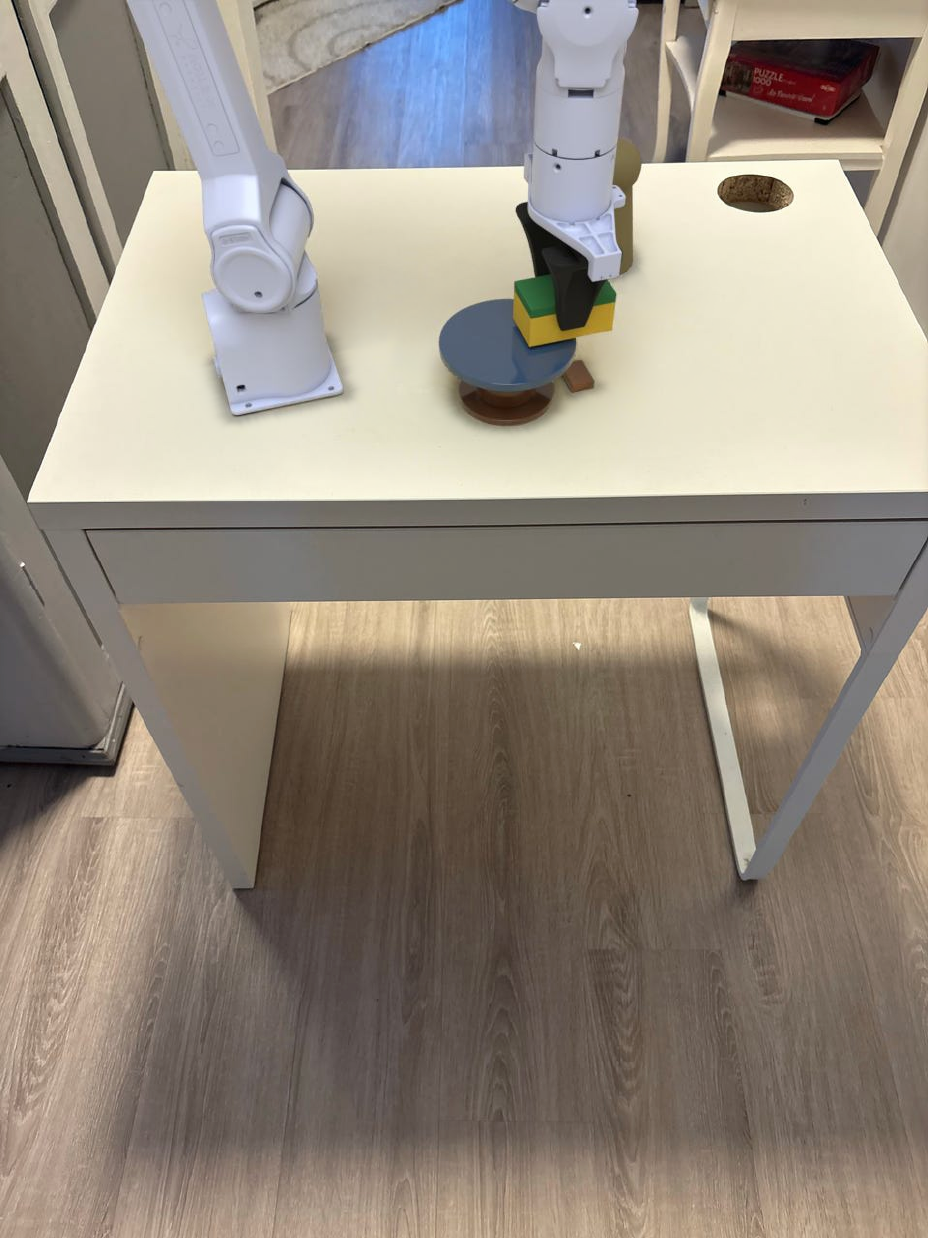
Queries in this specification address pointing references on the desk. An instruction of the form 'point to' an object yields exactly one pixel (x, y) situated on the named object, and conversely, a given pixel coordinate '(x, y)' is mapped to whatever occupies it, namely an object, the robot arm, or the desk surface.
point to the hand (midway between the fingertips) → (561, 309)
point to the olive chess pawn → (625, 178)
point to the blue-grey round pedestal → (501, 364)
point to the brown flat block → (578, 377)
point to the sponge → (540, 316)
